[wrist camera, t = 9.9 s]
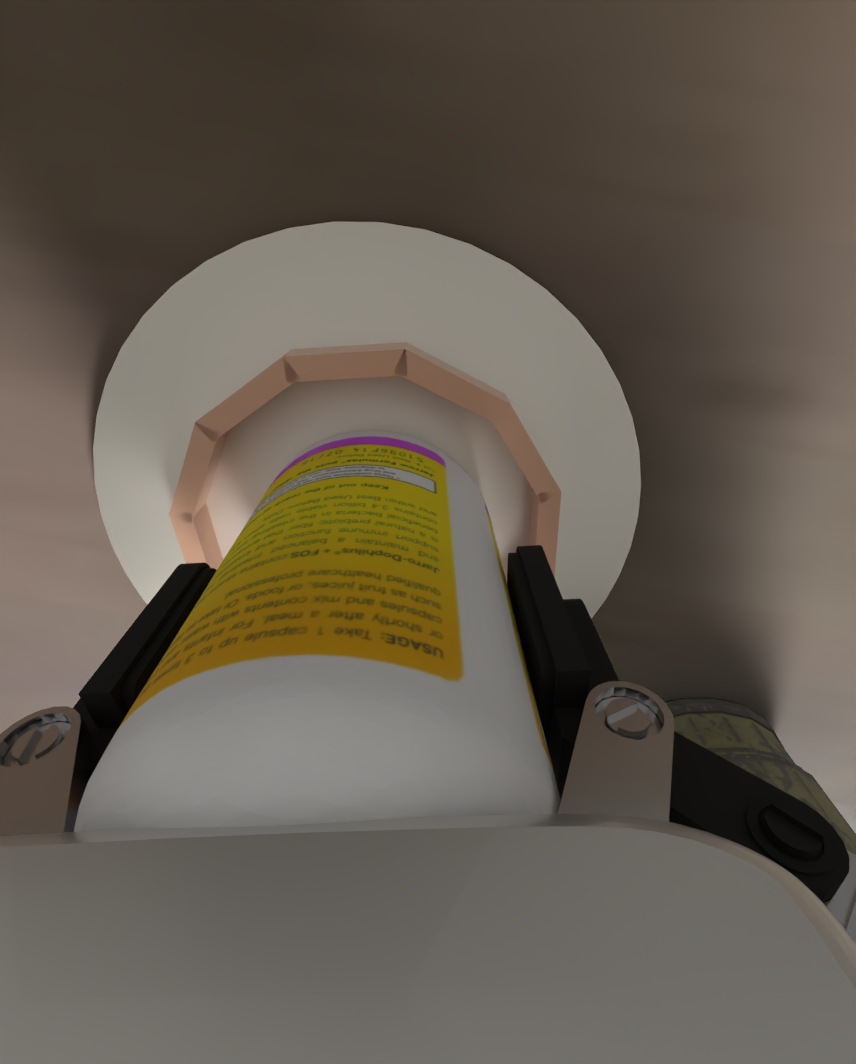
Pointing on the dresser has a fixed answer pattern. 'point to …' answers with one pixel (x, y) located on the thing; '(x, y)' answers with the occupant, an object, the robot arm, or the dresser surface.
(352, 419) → the ring stand
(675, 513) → the dresser surface
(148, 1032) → the robot arm
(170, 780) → the supplement bottle
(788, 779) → the olive tall rounded piece
